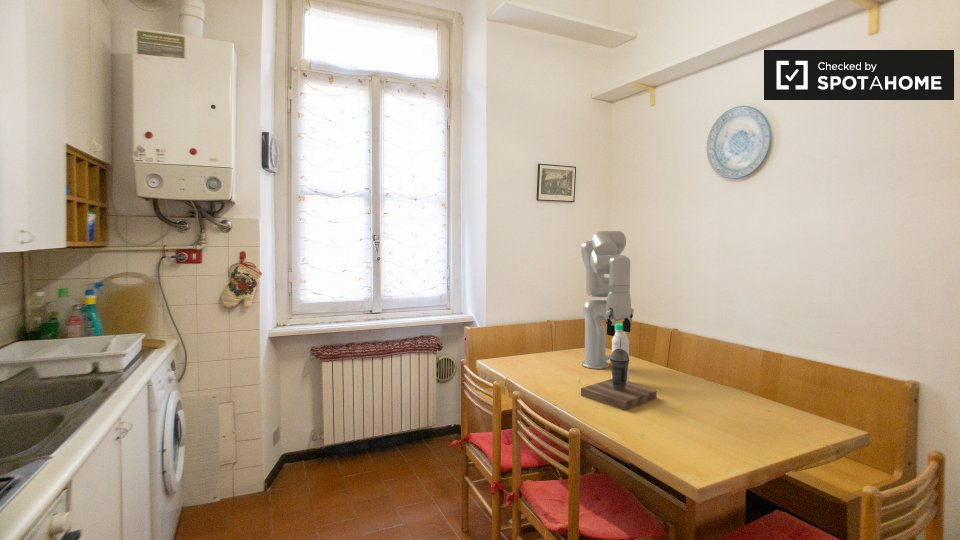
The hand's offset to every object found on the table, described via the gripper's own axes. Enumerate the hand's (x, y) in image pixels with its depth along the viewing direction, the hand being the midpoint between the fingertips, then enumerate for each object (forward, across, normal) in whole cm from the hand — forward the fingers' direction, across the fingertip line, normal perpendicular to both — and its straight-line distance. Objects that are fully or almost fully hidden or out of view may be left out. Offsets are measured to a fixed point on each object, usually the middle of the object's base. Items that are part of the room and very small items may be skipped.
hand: (618, 333), depth 177 cm
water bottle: (+25, -15, -10) cm, 31 cm away
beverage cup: (+22, 0, 0) cm, 22 cm away
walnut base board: (+25, +1, +1) cm, 25 cm away
